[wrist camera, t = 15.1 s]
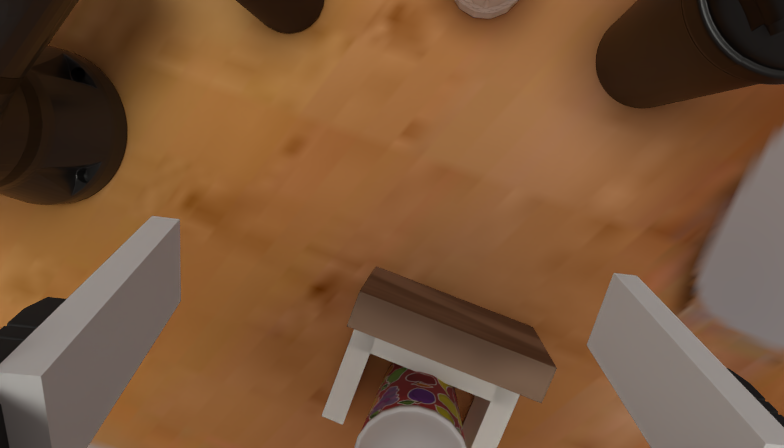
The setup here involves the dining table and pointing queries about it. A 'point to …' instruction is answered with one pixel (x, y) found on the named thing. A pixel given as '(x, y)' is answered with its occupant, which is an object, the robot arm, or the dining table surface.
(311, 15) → the vinegar
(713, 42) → the water bottle
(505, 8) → the white cup
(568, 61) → the dining table surface
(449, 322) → the backstop wall
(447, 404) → the smoothie
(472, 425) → the frame
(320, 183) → the dining table surface
